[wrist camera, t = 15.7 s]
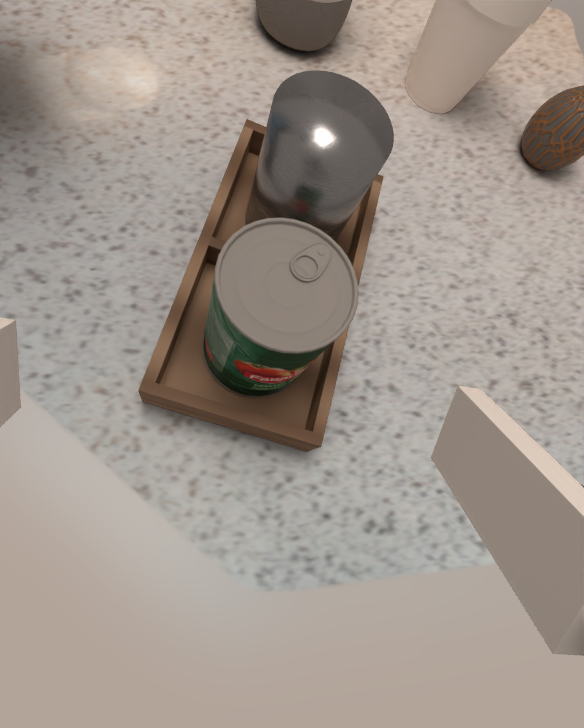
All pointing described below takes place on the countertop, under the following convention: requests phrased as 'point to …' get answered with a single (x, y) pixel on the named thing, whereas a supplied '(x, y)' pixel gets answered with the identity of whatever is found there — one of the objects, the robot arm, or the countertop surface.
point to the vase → (556, 131)
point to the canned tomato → (275, 305)
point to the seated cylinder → (319, 151)
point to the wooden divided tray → (189, 314)
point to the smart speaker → (303, 21)
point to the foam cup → (464, 47)
